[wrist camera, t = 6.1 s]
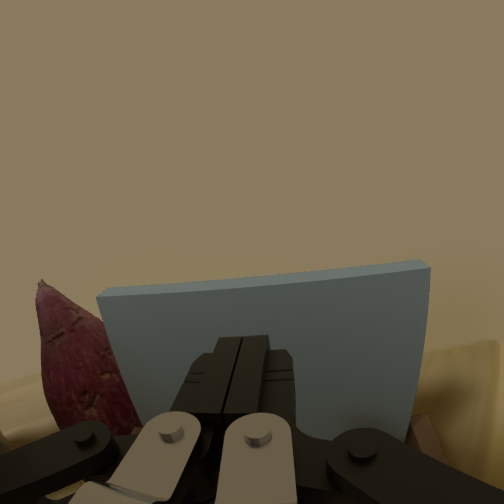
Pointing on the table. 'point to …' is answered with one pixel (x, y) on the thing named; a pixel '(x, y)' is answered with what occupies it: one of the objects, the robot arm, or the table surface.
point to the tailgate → (285, 339)
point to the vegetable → (80, 366)
